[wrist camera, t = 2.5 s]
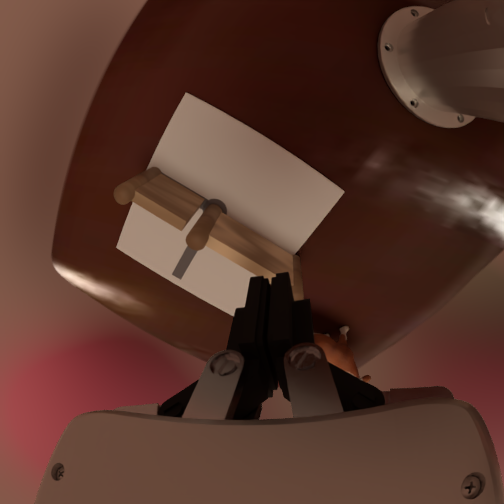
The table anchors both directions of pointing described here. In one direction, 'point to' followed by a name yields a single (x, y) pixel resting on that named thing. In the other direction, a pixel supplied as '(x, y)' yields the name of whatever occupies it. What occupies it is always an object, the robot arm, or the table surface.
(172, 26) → the table surface
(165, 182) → the fixed fence section
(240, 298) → the card
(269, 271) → the fence panel
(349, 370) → the bull figurine
